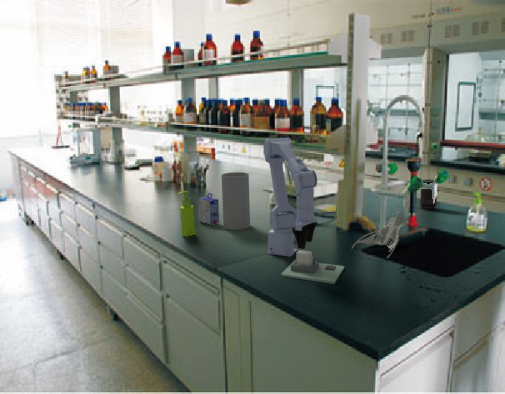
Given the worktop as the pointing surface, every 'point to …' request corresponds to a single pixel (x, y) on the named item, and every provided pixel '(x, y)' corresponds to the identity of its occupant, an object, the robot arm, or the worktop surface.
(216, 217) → the ink cartridge box
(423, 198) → the camera lens
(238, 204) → the cylinder vase
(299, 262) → the keyed plug
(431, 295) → the worktop surface
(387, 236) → the skeletal model
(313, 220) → the robot arm
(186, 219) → the soap dispenser
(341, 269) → the white board with tray
